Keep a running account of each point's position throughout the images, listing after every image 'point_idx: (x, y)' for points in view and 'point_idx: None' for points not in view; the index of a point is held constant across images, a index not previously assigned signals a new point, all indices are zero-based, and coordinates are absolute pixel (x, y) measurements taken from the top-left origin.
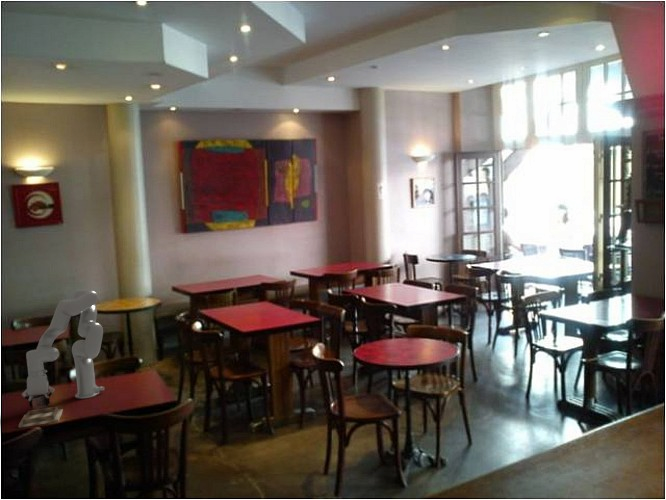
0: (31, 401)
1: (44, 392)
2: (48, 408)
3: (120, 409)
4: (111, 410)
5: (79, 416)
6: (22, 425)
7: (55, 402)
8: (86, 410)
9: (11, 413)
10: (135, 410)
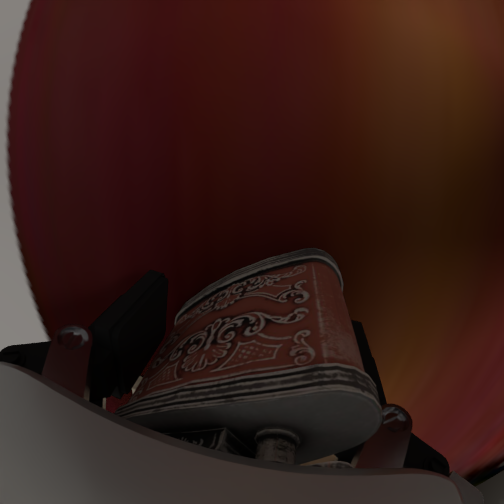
0: (123, 391)
1: None
2: None
3: (496, 456)
4: (483, 459)
5: None
6: None
7: (443, 120)
8: (458, 446)
9: (31, 205)
10: (496, 465)
